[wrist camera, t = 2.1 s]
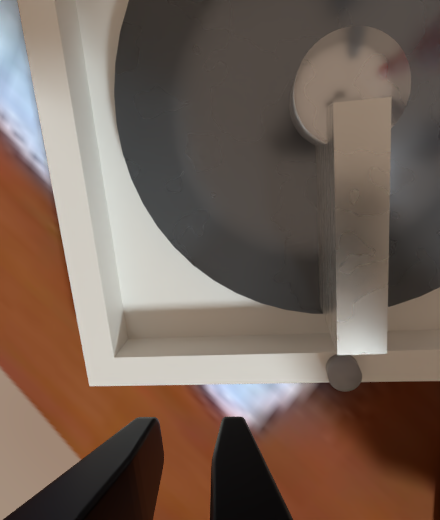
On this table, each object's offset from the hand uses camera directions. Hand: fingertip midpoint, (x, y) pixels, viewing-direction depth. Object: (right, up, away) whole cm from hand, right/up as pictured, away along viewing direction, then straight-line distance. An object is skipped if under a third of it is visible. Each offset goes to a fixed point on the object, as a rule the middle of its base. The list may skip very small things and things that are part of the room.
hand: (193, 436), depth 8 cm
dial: (+5, +10, +9) cm, 14 cm away
